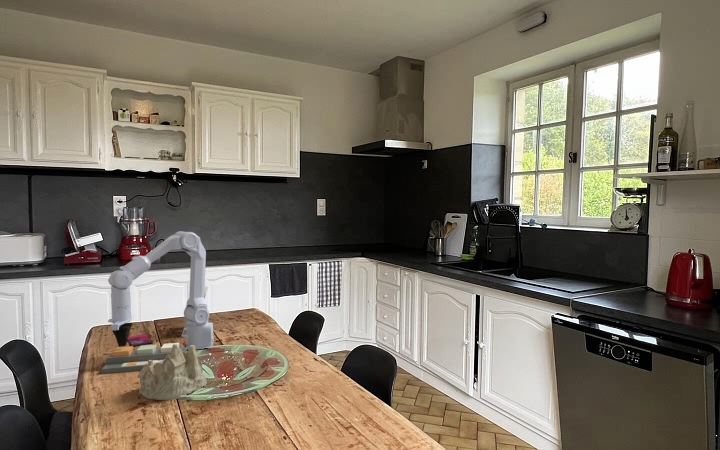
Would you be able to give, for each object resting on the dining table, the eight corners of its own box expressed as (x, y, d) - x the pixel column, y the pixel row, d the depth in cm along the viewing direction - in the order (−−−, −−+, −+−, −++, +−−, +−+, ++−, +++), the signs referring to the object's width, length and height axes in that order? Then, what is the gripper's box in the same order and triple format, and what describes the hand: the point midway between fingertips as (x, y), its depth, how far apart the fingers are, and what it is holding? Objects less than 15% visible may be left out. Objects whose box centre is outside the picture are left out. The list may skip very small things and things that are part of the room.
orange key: (133, 351, 152) (133, 346, 152) (128, 356, 147) (128, 350, 147) (117, 353, 151) (117, 347, 150) (112, 357, 146) (112, 352, 146)
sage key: (156, 350, 153) (156, 344, 153) (152, 354, 148) (152, 348, 148) (141, 351, 152) (140, 345, 152) (136, 356, 147) (136, 350, 147)
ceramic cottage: (215, 382, 131) (209, 333, 131) (166, 406, 117) (160, 351, 117) (181, 376, 139) (176, 330, 139) (132, 398, 125) (126, 346, 124)
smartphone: (146, 333, 183) (153, 342, 171) (146, 335, 183) (153, 344, 171) (125, 337, 179) (131, 346, 166) (125, 339, 179) (131, 348, 166)
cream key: (179, 348, 155) (179, 342, 155) (176, 352, 150) (176, 347, 150) (164, 349, 154) (163, 343, 154) (160, 354, 149) (160, 348, 149)
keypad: (186, 351, 161) (186, 341, 160) (178, 367, 145) (177, 356, 145) (118, 357, 156) (117, 347, 156) (101, 373, 140) (101, 362, 140)
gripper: (115, 302, 154) (116, 340, 155) (100, 311, 140) (101, 353, 141) (137, 301, 156) (138, 338, 156) (124, 310, 141) (125, 351, 142)
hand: (122, 345), depth 148 cm, fingers closed
